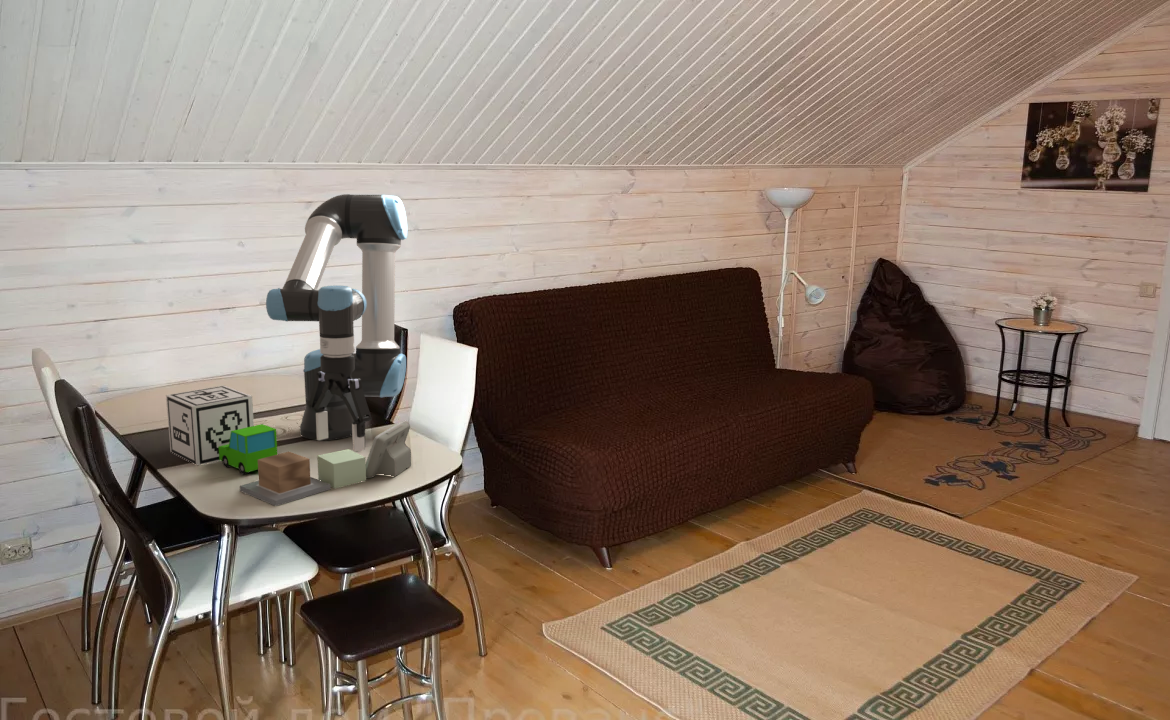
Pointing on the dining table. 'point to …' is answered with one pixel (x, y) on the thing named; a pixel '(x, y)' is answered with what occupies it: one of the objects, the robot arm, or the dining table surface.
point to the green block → (341, 468)
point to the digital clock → (389, 452)
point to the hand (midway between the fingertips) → (340, 444)
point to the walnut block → (284, 472)
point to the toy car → (249, 447)
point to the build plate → (287, 496)
